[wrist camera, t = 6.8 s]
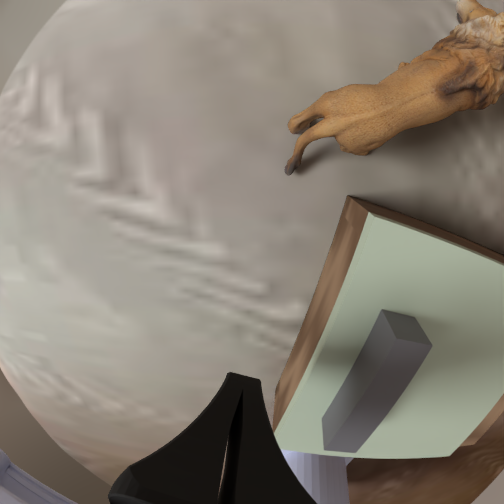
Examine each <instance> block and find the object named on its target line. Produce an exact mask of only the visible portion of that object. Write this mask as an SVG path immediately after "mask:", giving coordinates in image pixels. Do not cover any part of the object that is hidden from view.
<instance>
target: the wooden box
mask: <svg viewBox="0 0 504 504" xmlns="http://www.w3.org/2000/svg"><path fill="white" fill-rule="evenodd" d="M368 212H371V213H374V214H377V215H380V216H383V217H386V218H388V219H391V220H394V221H397V222H400V223H403V224H406V225H408V226H411V227H414V228H417V229H419V230H422V231H425V232H428V233H430V234H433V235H435V236H438V237H441V238H443V239H446V240H448V241H451V242H454V243H456V244H459V245H461V246H464V247H466V248H468V249H471V250H473V251H476V252H478V253H481V254H483V255H485V256H488V257H490V258H492V259H495V260H497V261H499V262H501V263H504V255H501V254H499V253H497V252H495V251H493V250H490V249H488V248H486V247H484V246H481V245H479V244H477V243H475V242H472V241H470V240H468V239H465V238H463V237H460V236H458V235H456V234H453V233H451V232H448V231H446V230H443V229H441V228H438V227H436V226H433V225H431V224H428V223H425V222H423V221H420V220H417V219H415V218H412V217H409V216H407V215H404V214H401V213H398V212H396V211H393V210H390V209H387V208H384V207H381V206H379V205H376V204H373V203H370V202H367V201H364V200H361V199H358V198H355V197H352V196H348V195H347V198H346V201H345V205H344V208H343V211H342V214H341V217H340V220H339V223H338V227H337V230H336V233H335V236H334V239H333V242H332V245H331V248H330V251H329V253H328V256H327V259H326V262H325V265H324V268H323V271H322V273H321V276H320V279H319V282H318V285H317V287H316V290H315V293H314V295H313V298H312V301H311V303H310V306H309V309H308V311H307V314H306V317H305V319H304V322H303V324H302V327H301V329H300V332H299V334H298V337H297V339H296V342H295V344H294V347H293V349H292V352H291V354H290V357H289V359H288V361H287V364H286V366H285V368H284V371H283V373H282V375H281V378H280V380H279V382H278V385H277V387H276V391H275V404H274V417H273V433H274V432H275V430H276V428H277V426H278V424H279V423H280V421H281V419H282V417H283V415H284V413H285V411H286V409H287V407H288V405H289V403H290V401H291V399H292V397H293V395H294V393H295V391H296V389H297V387H298V385H299V383H300V381H301V379H302V377H303V375H304V373H305V371H306V369H307V366H308V364H309V362H310V360H311V358H312V356H313V354H314V351H315V349H316V347H317V345H318V342H319V340H320V338H321V336H322V333H323V331H324V329H325V326H326V324H327V322H328V319H329V317H330V315H331V312H332V310H333V307H334V305H335V302H336V300H337V298H338V295H339V293H340V290H341V287H342V285H343V282H344V280H345V277H346V275H347V272H348V269H349V267H350V264H351V261H352V259H353V256H354V253H355V250H356V247H357V245H358V242H359V239H360V236H361V233H362V230H363V227H364V224H365V221H366V218H367V215H368ZM503 411H504V394H503V395H502V396H501V398H500V399H499V400H498V402H497V403H496V404H495V405H494V407H493V408H492V409H491V410H490V412H489V413H488V414H487V415H486V417H485V418H484V419H483V420H482V421H481V423H480V424H479V425H478V426H477V427H476V428H475V429H474V431H473V432H472V433H471V434H470V435H469V436H468V437H467V438H466V439H465V440H464V442H463V443H462V444H461V445H460V446H466V445H474V444H475V443H476V442H477V441H478V440H479V439H480V437H481V436H482V435H483V434H484V433H485V432H486V431H487V430H488V429H489V427H490V426H491V425H492V424H493V423H494V422H495V420H496V419H497V418H498V417H499V416H500V414H501V413H502V412H503Z"/></svg>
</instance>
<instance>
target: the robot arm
mask: <svg viewBox="0 0 504 504" xmlns="http://www.w3.org/2000/svg"><path fill="white" fill-rule="evenodd" d="M228 435H229V436H228ZM227 441H228V444H227ZM226 446H227V453H226V461H225V469H224V475H223V479H222V484H221V488H220V492H219V487H220V481H221V475H222V469H223V463H224V457H225V451H226ZM353 458H354V457H340V456H329V455H320V454H311V453H303V452H296V451H290V450H283V449H280V447H279V445H278V443H277V441H276V438H275V436H274V433H273V430H272V428H271V425H270V422H269V418H268V415H267V411H266V408H265V404H264V399H263V394H262V387H261V381H260V380H259V379H256V378H252V377H248V376H244V375H240V374H236V373H232V372H229V373H227V376H226V378H225V380H224V382H223V384H222V386H221V388H220V389H219V391H218V392H217V394H216V395H215V397H214V398H213V399H212V401H211V402H210V403H209V405H208V406H207V407H206V408H205V409H204V410H203V412H202V413H201V414H200V415H199V416H198V417H197V418H196V419H195V420H194V421H193V422H192V423H191V424H190V425H189V426H188V427H187V428H186V429H185V430H184V431H182V432H181V433H180V434H179V435H178V436H176V437H175V438H174V439H173V440H171V441H170V442H169V443H167V444H166V445H164V446H163V447H161V448H160V449H158V450H157V451H155V452H154V453H152V454H151V455H149V456H147V457H145V458H143V459H142V460H140V461H138V462H136V463H134V464H132V465H130V466H129V467H128V468H127V469H126V470H125V471H124V472H123V473H122V474H121V475H120V476H119V477H118V478H117V479H116V481H115V482H114V484H113V486H112V488H111V490H110V492H109V494H108V498H109V501H110V504H349V493H348V482H347V472H346V466H347V465H348V464H349V463H350V462H351V460H352V459H353ZM218 494H219V496H218ZM0 504H77V503H75V502H74V501H72V500H70V499H68V498H66V497H64V496H62V495H61V494H59V493H57V492H56V491H54V490H52V489H51V488H49V487H47V486H46V485H44V484H43V483H41V482H39V481H38V480H36V479H35V478H33V477H32V476H30V475H28V474H27V473H26V472H24V471H23V470H22V469H20V468H19V467H17V466H16V465H15V464H13V463H12V462H11V461H10V459H9V457H8V456H7V455H6V454H5V453H4V452H3V451H2V450H1V449H0Z"/></svg>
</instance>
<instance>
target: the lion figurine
mask: <svg viewBox="0 0 504 504" xmlns="http://www.w3.org/2000/svg"><path fill="white" fill-rule="evenodd" d="M456 11H457V12H458V13H457V15H456V18H457V20H458V22H459V24H460V25H457V26H456V27H455V29H454V30H452V31H451V32H450V36H448V37H446V38H444V39H441V40H440V41H439V42H437V43H436V44H435V45H434V47H433V48H432V49H431V50H429V51H426V52H424V53H423V54H422V55H420V56H418V57H416V58H414V59H413V60H412V61H411V63H410V64H409V63H404V62H402V63H400V65H399V68H398V70H397V71H396V72H394V73H393V74H391V75H390V76H388V77H387V78H385V79H384V80H382V81H381V82H380V83H379V84H377V85H367V84H351V85H348V86H345V87H343V88H340V89H338V90H336V91H329V92H327V93H325V94H323V95H322V96H321V97H320V98H319V99H318V100H317V101H316V102H315V103H313V104H312V105H311V106H310V107H308V108H307V109H306V110H304V111H302V112H301V113H299V114H296V115H294V116H293V117H292V118H291V119H290V121H289V123H288V128H289V130H290V132H291V133H292V134H300V133H303V132H304V133H303V134H302V135H301V136H300V137H299V138H298V139H297V142H296V145H295V149H294V153H293V156H292V158H290V159H289V160H288V162H287V165H286V167H285V173H286V174H287V175H291V174H292V173H293V172H294V170H295V169H296V168H297V167H298V166H299V165H300V164H301V159H302V155H303V152H304V149H305V147H306V146H307V145H308V144H309V143H310V142H312V141H315V140H318V139H320V138H324V137H335V139H336V140H337V142H338V143H339V144H340V149H341V150H342V151H344V152H348V153H352V154H355V155H367V154H368V153H369V151H370V150H372V149H376V148H378V147H380V146H382V145H383V144H384V143H385V142H386V141H388V140H390V139H391V138H392V137H394V136H395V135H397V134H398V133H400V132H401V131H403V130H406V129H409V128H414V127H418V126H422V125H425V124H430V123H434V122H437V121H440V120H442V119H444V118H446V117H448V116H450V115H451V114H453V113H454V112H456V111H464V110H467V109H469V108H470V109H474V110H478V109H484V108H486V107H487V106H489V105H490V104H495V103H496V102H497V100H498V98H499V96H500V95H501V94H502V93H504V12H502V13H499V14H497V13H496V12H495V11H493V10H492V9H488V8H485V7H483V6H482V5H481V4H479V3H478V2H477V1H476V0H459V1H458V2H457V4H456ZM319 118H324V119H323V120H321V121H320V122H318V123H317V124H316V125H314V126H312V127H311V128H309V127H310V123H311V122H312V121H314V120H315V119H319ZM307 129H308V130H307Z"/></svg>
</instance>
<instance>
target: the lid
mask: <svg viewBox="0 0 504 504" xmlns="http://www.w3.org/2000/svg"><path fill="white" fill-rule="evenodd" d="M503 394H504V263H501V262H499V261H497V260H495V259H492V258H490V257H488V256H485V255H483V254H481V253H478V252H476V251H473V250H471V249H468V248H466V247H464V246H461V245H459V244H456V243H454V242H451V241H448V240H446V239H443V238H441V237H438V236H435V235H433V234H430V233H428V232H425V231H422V230H419V229H417V228H414V227H411V226H408V225H406V224H403V223H400V222H397V221H394V220H391V219H388V218H386V217H383V216H380V215H377V214H374V213H371V212H368V215H367V218H366V221H365V224H364V227H363V230H362V233H361V236H360V239H359V242H358V245H357V247H356V250H355V253H354V256H353V259H352V261H351V264H350V267H349V269H348V272H347V275H346V277H345V280H344V282H343V285H342V287H341V290H340V293H339V295H338V298H337V300H336V302H335V305H334V307H333V310H332V312H331V315H330V317H329V319H328V322H327V324H326V326H325V329H324V331H323V333H322V336H321V338H320V340H319V342H318V345H317V347H316V349H315V351H314V354H313V356H312V358H311V360H310V362H309V364H308V366H307V369H306V371H305V373H304V375H303V377H302V379H301V381H300V383H299V385H298V387H297V389H296V391H295V393H294V395H293V397H292V399H291V401H290V403H289V405H288V407H287V409H286V411H285V413H284V415H283V417H282V419H281V421H280V423H279V424H278V426H277V428H276V430H275V432H274V436H275V438H276V441H277V443H278V445H279V447H280V449H283V450H290V451H296V452H303V453H311V454H320V455H329V456H340V457H355V458H379V459H407V458H431V457H444V456H450V455H451V454H452V453H453V452H454V451H455V450H456V449H457V448H458V447H459V446H460V445H461V444H462V443H463V442H464V440H465V439H466V438H467V437H468V436H469V435H470V434H471V433H472V432H473V431H474V429H475V428H476V427H477V426H478V425H479V424H480V423H481V421H482V420H483V419H484V418H485V417H486V415H487V414H488V413H489V412H490V410H491V409H492V408H493V407H494V405H495V404H496V403H497V402H498V400H499V399H500V398H501V396H502V395H503Z"/></svg>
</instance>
